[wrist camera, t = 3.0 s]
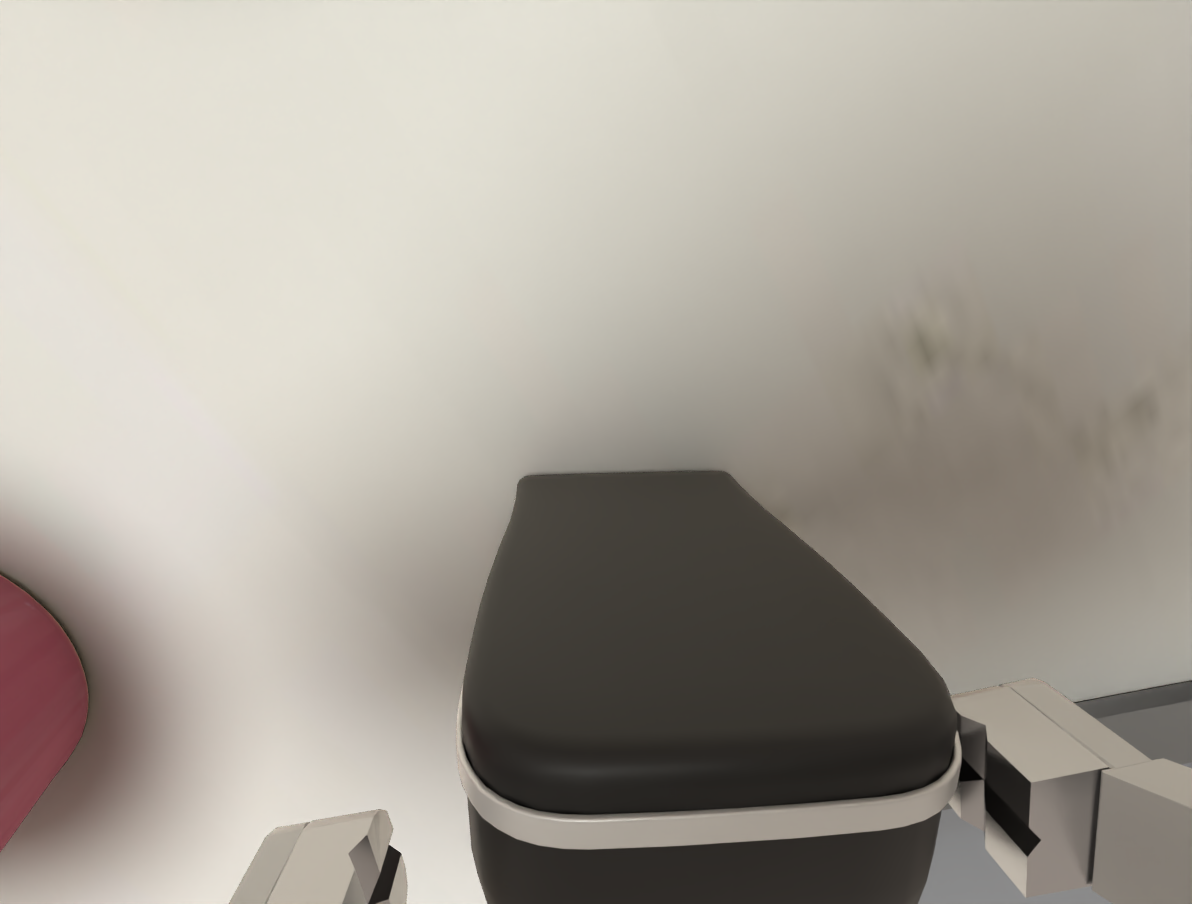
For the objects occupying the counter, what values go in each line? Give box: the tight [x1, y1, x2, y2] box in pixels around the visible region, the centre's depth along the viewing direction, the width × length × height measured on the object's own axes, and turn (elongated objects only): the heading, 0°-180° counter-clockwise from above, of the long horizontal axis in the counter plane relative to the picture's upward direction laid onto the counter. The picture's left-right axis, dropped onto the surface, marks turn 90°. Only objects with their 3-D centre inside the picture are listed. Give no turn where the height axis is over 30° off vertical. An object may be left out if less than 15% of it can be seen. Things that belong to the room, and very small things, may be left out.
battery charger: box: [456, 471, 962, 904], centre depth 12 cm, size 7×4×11 cm, turn 90°
